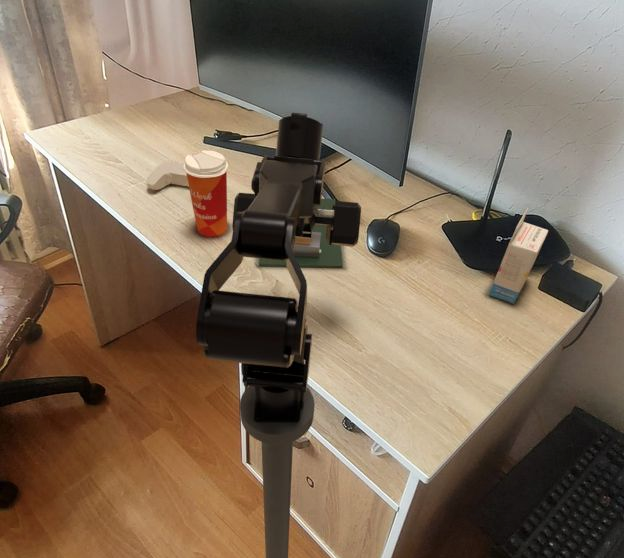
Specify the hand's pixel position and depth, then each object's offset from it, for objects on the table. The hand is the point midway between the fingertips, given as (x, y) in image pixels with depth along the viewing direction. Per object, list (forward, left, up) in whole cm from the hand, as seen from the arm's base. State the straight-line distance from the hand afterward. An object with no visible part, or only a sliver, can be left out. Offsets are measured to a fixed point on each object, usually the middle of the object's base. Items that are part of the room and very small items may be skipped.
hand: (299, 231), depth 86 cm
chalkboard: (+1, +19, -13) cm, 22 cm away
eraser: (+1, +11, -12) cm, 17 cm away
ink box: (+40, +2, -13) cm, 42 cm away
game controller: (-25, +34, -13) cm, 45 cm away
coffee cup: (-17, +19, -13) cm, 28 cm away
